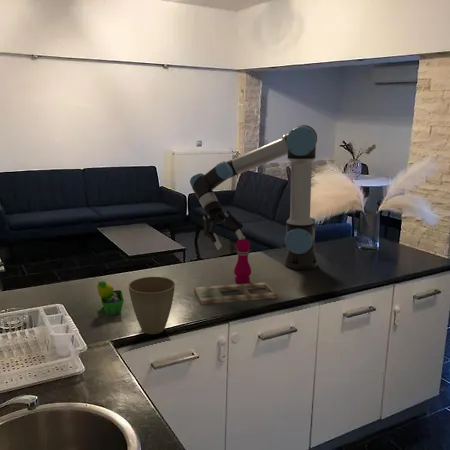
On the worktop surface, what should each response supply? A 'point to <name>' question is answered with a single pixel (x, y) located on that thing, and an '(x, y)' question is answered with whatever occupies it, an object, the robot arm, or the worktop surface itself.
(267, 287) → the board
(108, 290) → the fruit basket
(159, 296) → the plant pot
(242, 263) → the pepper mill
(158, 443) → the worktop surface
